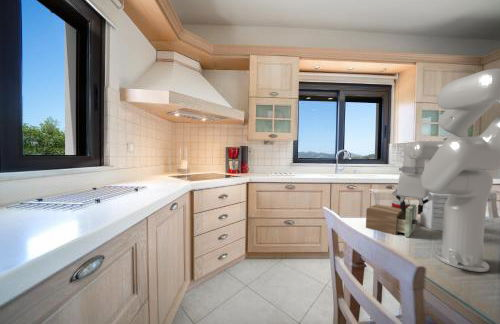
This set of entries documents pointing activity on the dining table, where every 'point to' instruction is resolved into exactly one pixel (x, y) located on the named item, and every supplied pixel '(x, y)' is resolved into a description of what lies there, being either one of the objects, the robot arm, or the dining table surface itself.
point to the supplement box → (434, 212)
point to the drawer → (407, 221)
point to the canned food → (397, 205)
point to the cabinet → (383, 218)
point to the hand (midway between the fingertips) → (411, 211)
